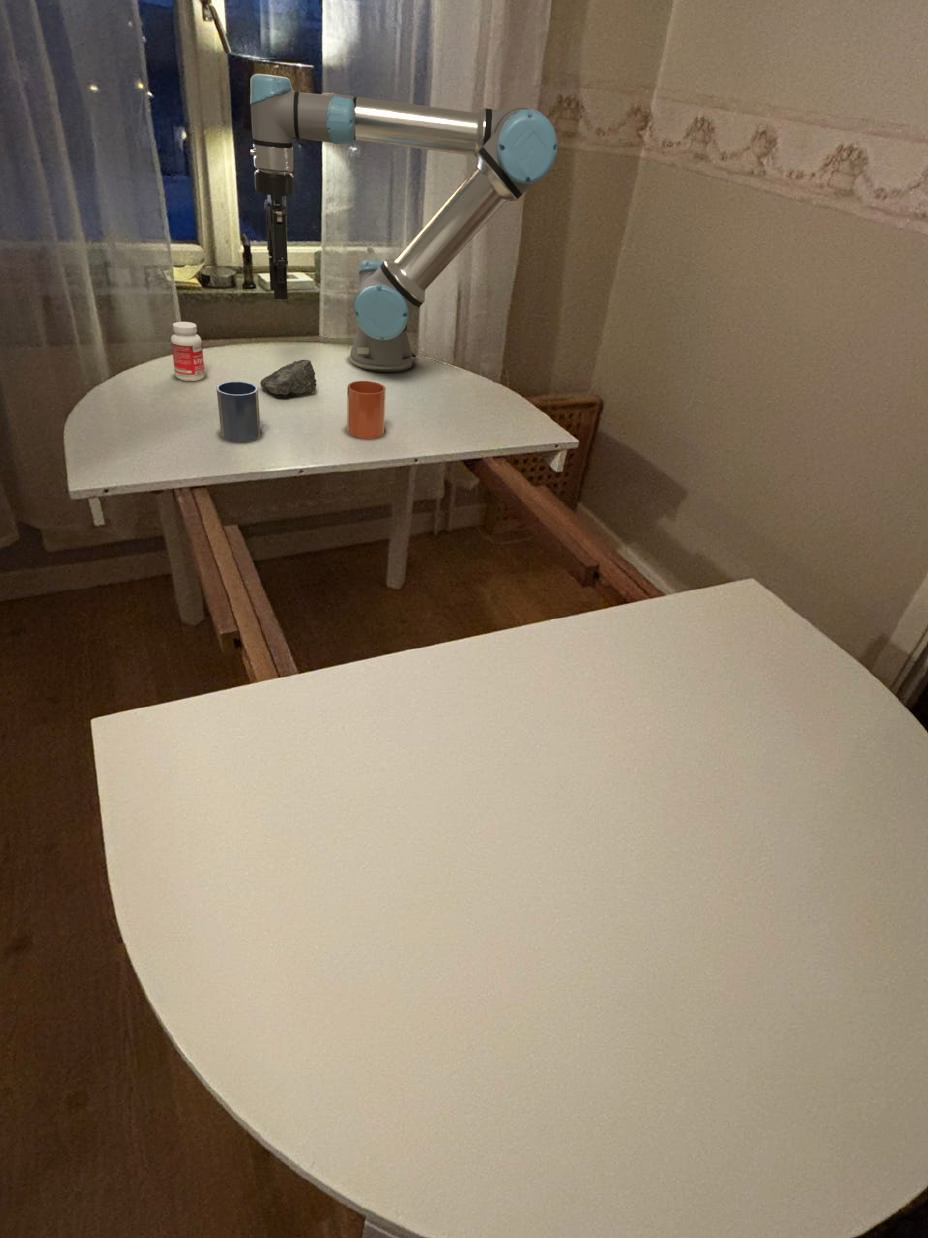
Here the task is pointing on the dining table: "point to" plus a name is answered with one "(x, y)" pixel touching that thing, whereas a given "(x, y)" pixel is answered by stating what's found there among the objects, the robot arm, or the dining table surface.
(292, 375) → the rock
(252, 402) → the cup
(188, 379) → the pill bottle
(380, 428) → the orange cup
